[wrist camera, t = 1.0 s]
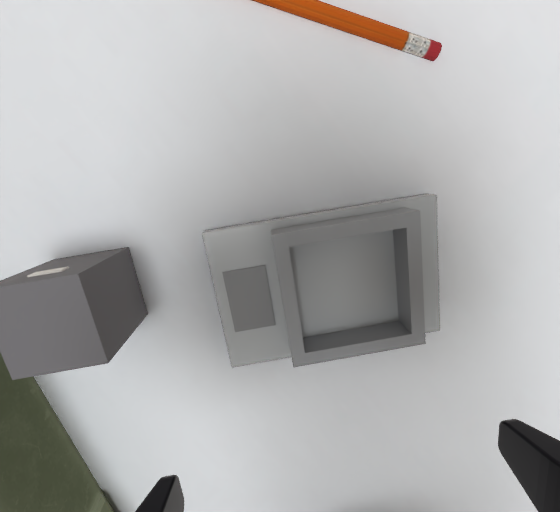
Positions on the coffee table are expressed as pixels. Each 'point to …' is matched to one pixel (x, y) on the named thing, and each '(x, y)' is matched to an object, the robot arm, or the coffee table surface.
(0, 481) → the handheld radio
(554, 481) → the robot arm
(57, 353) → the block
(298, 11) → the pencil
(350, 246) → the grey charging dock
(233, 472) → the coffee table surface
